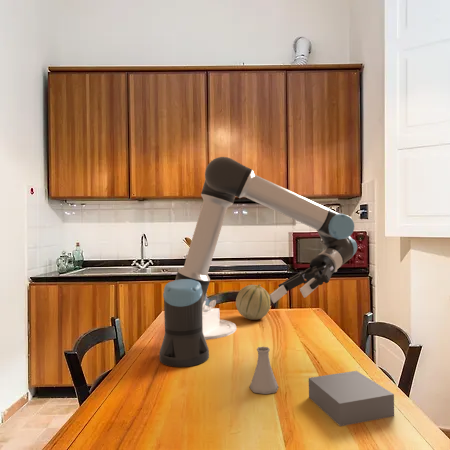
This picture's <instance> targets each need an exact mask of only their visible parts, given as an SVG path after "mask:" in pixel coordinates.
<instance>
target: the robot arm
mask: <svg viewBox="0 0 450 450" xmlns="http://www.w3.org/2000/svg"><path fill="white" fill-rule="evenodd" d="M204 179H205V180H204V182H203V186H202V189H201V192H200V196H201V198H202V199H203V200H202V205H201V209H200V212H199V214H198V219H197V221H196V226H195V228H194V232H193V235H192V238H191V241H190V245H189V248H188V251H187V255H186V258H185V261H184V266H183V267H181V268H179V269H178V270H177V273H176V276H175V280H173V281H172V280H171V281H169V282H167V283H166V284H165V285H164V288H163V292H162V293H163V294H162V296H163V300H164V301H163V305H164V306H163V309H164V312H163V313H164V314H163V315H164V336H163V339H162V340H163V341H162V342H161V346H160V349H159V361H160V363H161V364H163V365H165V366H168V367H174V368H186V367H193V366H197V365H201V364H203V363H204V362H206V361H207V360H209V358H210V352H209V351H210V350H209V346H208V342H207V339H206V340H205V337H204V334H203V327H202V306H203V303H204V301H206V297H207V292H208V290H209V285H210V282H211V278H210V276H209V274H208V273H209V269H210V266H211V265H212V264H211V263H212V260H213V257H214V253H215V250H216V246H217V244H218V240H219V237H220V233H221V231H222V228H223V224H224V221H225V217H226V213H227V211H228V208H230V207H231V206H232V205H234V202H235V199H236V198H239V199H241V198H247V199H248V200H251V201H253V202H255V203H258V204H260V205H262V206H263V207H266V208H268V209H270V210H272V211H275V212H277V213H278V214H279V213H280V214H282V215H284V216H286V217H288V218H289V219H292V220H294V221H297V222H298V223H301V224H303V225H305V226H308V227H309V228H312V229H314V230H316V232H317V234H318V235H319V237H320V239H321V240H322V242H323V244H324V247H325V249H324V250H322V251H321V252H320V253H318V255H316V256H314V257H313V258H312V259H311V260H310V263H309V267H308V268H306V269H305V270H304V271H303V270H301V271H299V272H298V273H296V274H294V275H293V276H291V277H290V278H288V279H286V280H285V281H283V282H282V283H279V284H278V286H277V287H278V288H276V289H275V290H274V291H273V292H272V293H270V294H269V296H270V301H271V302H272V303H273V304H275V303H277V302H278V301H279V300H280V299H282V297H284V296H285V295H288V292H289V291H291V290H293V289H294V288H296V287H298V286H300V285H302V284H304V285H302V287H300V288H299V291H300V293H301V295H302V296H303V298H307V297H308V296H309V295H310V294H311V293H313V291H314V290H317V288H318V287H319V286H322V285H323V284H324V283H325V284H328V283H329V282H330V280H331V277H332V275H333V274H334V273H336V272H338V269H339V268H341V267H342V266H343V265H344V264H346V263H347V262H348V261H349V260H350V259H353V257H354V255H356V253H357V250H358V244H357V242H356V240H355V239H353V238H352V234H353V233H354V230H355V221H354V220H353V218H352V217H351V216H349V215H347V214H344V213H339V212H337V211H334V210H333V209H331V208H330V207H327V206H324V205H322V204H319V203H318V202H315V201H313V200H311V199H309V198H307V197H304V196H302V195H300V194H297V193H296V192H294V191H292V190H289V189H288V188H285V187H283V186H281V185H278V184H276V183H274V182H272V181H270V180H267V179H265V178H263V177H261V176H260V175H257V174H255V172H254V170H253V169H252V168H249V166H248V167H247V166H246V165H243V164H242V163H240V162H238V161H237V160H235V159H233V158H230V157H227V156H218V157H215V158H213V159H211V161H210V162H209V163H208V165H206V168H205V172H204Z"/></svg>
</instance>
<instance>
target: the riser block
mask: <svg viewBox="0 0 450 450" xmlns="http://www.w3.org/2000/svg"><path fill="white" fill-rule="evenodd" d="M308 398H309V399H310V400H311V401H312V402H313V403H314V404H316V406H318V408H320V409H321V410H322V411H323V412H324V413H325V414H326V415H327V416H328V417H329V418H331V419H332V420H333V421H334V423H336V424H337V425H338V426H339V427H343V426H344V427H346V426H350V425H353V424H355V425H356V424H360V423H365V422H370V421H376V420H380V419H386V418H391V417H395V394H394V393H393V392H391V391H390V390H388V389H386V388H385V387H383V386H381V385H380V384H379V383H377V382H375V381H374V380H372V379H371V378H369V377H367V376H365V375H364V374H363V373H361V372H359V371H358V370H352V371H346V372H340V373H339V372H338V373H332V374H331V373H330V374H325V375H321V376H313V377H308Z"/></svg>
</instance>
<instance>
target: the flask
mask: <svg viewBox="0 0 450 450" xmlns="http://www.w3.org/2000/svg"><path fill="white" fill-rule="evenodd" d="M256 351H257V364H256V367H255V369H254V373H253V375H252V379H251V382H250V385H249V389H250V390H251V391H252V392H253V393H255V394H262V395H268V394H275V393H277V391H278V389H279V385H278V382H277V379H276V377H275V375H274V371H273V368H272V365H271V361H270V355H269V353H270V351H271V348H269V347H268V346H259V347H257V348H256Z"/></svg>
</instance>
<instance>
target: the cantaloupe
mask: <svg viewBox="0 0 450 450" xmlns="http://www.w3.org/2000/svg"><path fill="white" fill-rule="evenodd" d="M261 285H262V284H260V283H259V284H248V285H245V286H243V287H242V288H241V289H240V290H239V291H238V293H237V295H236V299H235V307H236V310H237V311H238V313H239V314H240V315H241V316H242V317H244V318H245V319H247V320H250V321H251V320H254V321H255V320H260V319H263V318H265V316H266V315H267V314H268V313H269V311H270V310H271V309H270V308H271V298H270V296H269V295H270V294H269V292H268V291H267V290H266V289H265V288H264V287H263V286H261Z"/></svg>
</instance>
